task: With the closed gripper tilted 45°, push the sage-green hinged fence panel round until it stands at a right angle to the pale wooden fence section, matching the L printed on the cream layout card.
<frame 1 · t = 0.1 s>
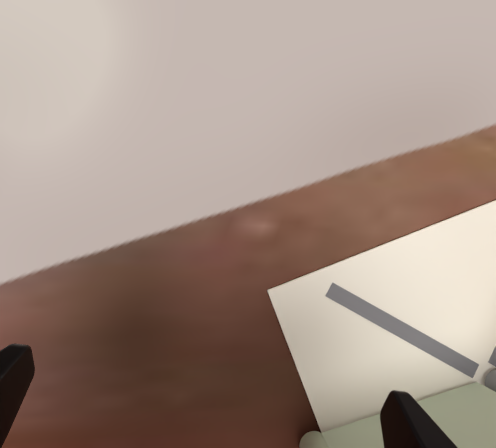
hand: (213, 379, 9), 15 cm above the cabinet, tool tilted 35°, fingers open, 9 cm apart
layout card: (476, 352, 25), on the cabinet
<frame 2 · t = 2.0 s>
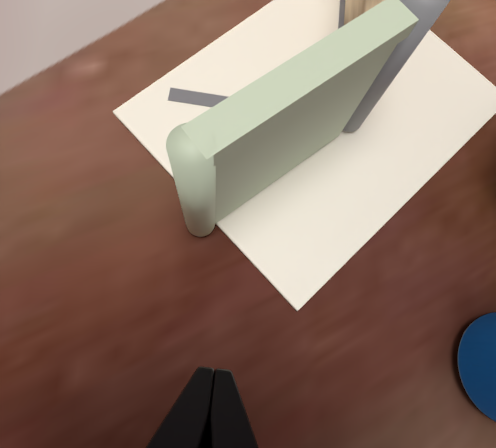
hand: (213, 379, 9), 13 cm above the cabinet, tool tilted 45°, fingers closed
layout card: (321, 107, 27), on the cabinet
folding fence panel: (295, 126, 20), point 6 cm above the cabinet, hinge at -45.0°
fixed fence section: (345, 122, 27), resting on layout card
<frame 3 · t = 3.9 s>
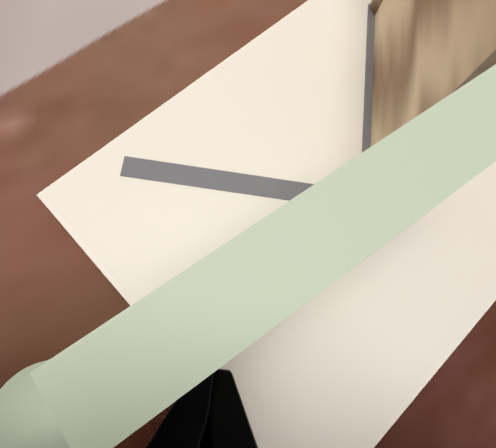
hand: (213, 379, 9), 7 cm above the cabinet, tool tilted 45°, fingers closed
layout card: (344, 180, 19), on the cabinet
folding fence panel: (307, 252, 12), point 6 cm above the cabinet, hinge at -42.2°, touching gripper
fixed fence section: (379, 204, 18), resting on layout card
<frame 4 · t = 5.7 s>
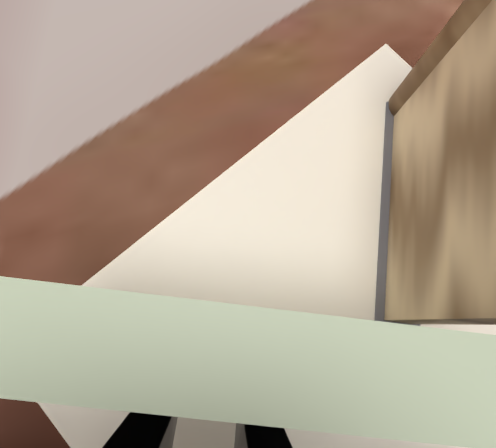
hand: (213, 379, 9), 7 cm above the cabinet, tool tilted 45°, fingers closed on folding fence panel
layout card: (354, 323, 16), on the cabinet
folding fence panel: (264, 347, 10), point 6 cm above the cabinet, hinge at -1.7°, touching gripper
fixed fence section: (395, 356, 16), resting on layout card
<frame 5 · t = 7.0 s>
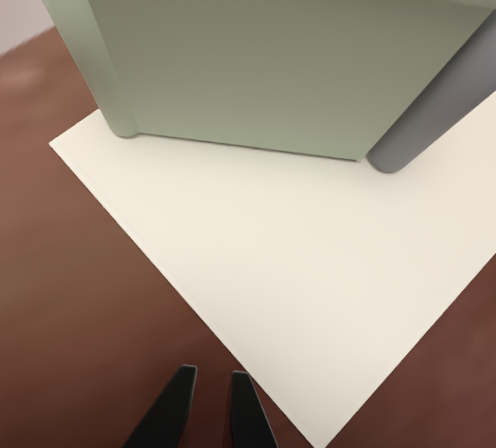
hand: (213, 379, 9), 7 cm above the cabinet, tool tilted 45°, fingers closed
layout card: (350, 134, 19), on the cabinet
folding fence panel: (279, 63, 13), point 6 cm above the cabinet, hinge at -1.6°
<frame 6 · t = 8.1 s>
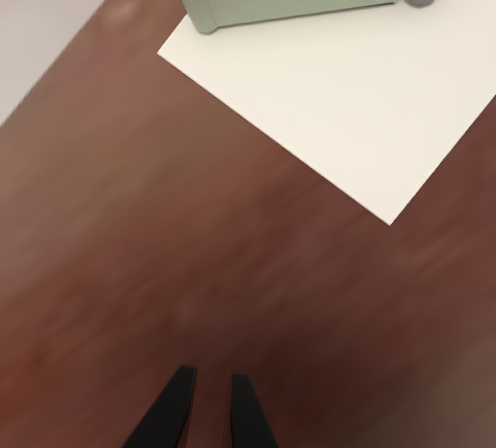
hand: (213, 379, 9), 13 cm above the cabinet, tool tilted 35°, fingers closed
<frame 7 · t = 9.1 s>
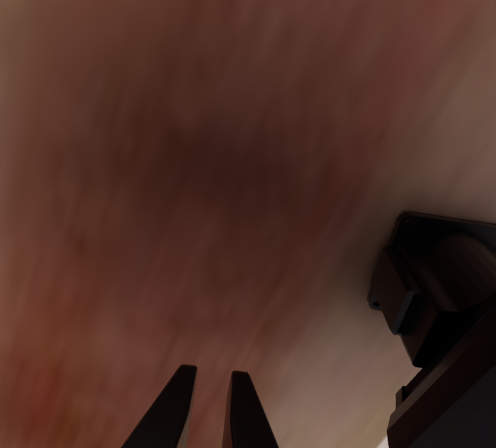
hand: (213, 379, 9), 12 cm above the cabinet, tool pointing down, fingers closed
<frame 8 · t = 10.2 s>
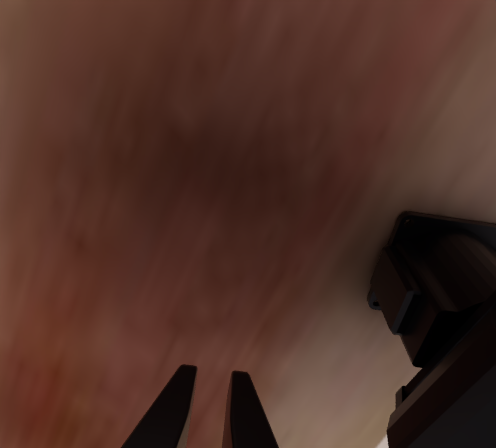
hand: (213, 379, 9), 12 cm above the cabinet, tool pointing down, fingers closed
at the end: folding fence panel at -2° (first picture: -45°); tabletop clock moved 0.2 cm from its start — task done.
